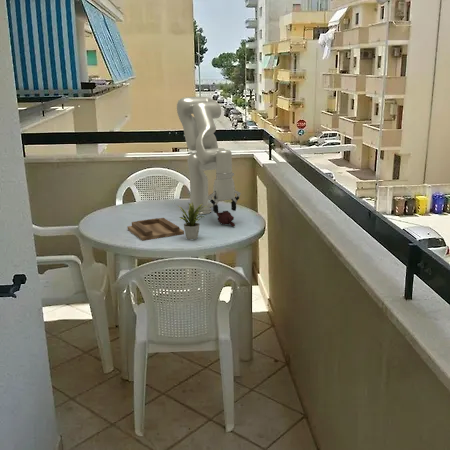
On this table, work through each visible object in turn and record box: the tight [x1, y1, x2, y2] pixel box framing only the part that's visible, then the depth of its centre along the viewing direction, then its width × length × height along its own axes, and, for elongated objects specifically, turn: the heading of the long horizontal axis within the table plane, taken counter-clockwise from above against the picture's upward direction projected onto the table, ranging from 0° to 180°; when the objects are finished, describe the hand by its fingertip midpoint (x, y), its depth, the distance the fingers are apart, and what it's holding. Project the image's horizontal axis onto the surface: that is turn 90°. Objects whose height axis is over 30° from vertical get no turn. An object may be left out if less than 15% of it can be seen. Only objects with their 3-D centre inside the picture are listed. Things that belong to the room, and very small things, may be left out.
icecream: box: [215, 210, 236, 227], centre depth 246 cm, size 7×7×15 cm
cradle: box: [127, 217, 185, 242], centre depth 234 cm, size 20×20×4 cm
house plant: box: [178, 203, 206, 240], centre depth 223 cm, size 14×14×16 cm
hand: (224, 211), depth 245 cm, fingers open, 9 cm apart
